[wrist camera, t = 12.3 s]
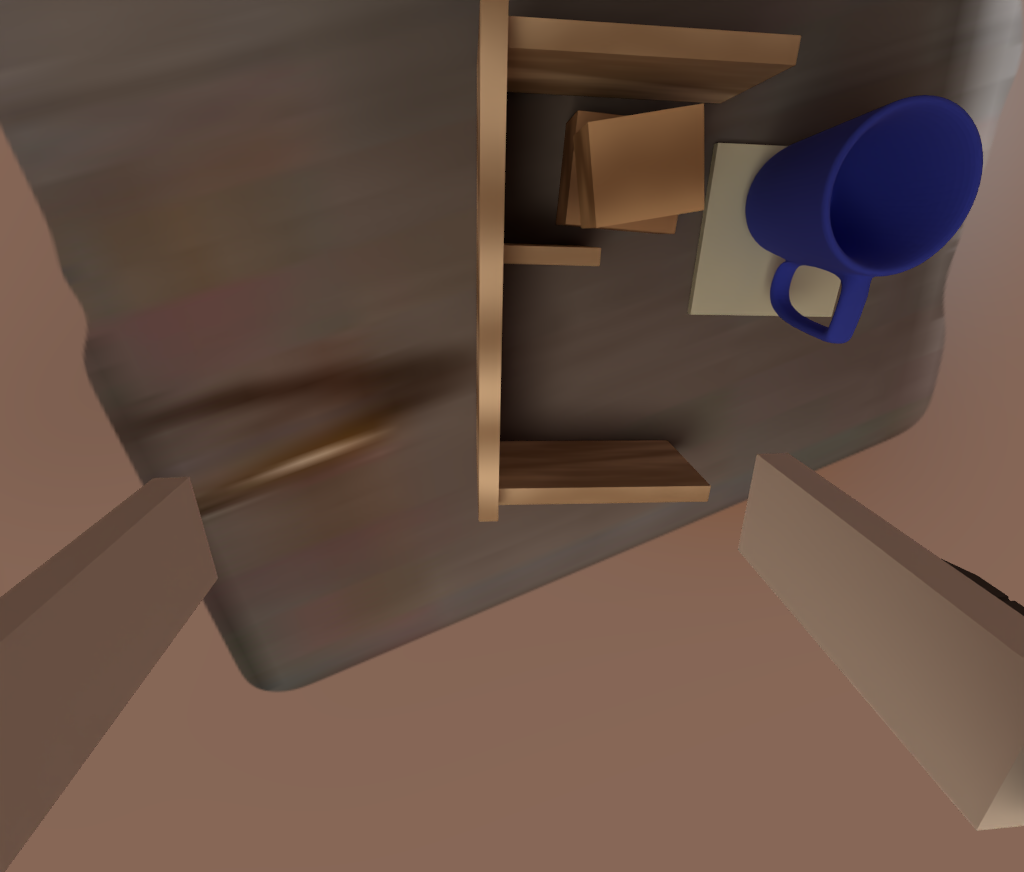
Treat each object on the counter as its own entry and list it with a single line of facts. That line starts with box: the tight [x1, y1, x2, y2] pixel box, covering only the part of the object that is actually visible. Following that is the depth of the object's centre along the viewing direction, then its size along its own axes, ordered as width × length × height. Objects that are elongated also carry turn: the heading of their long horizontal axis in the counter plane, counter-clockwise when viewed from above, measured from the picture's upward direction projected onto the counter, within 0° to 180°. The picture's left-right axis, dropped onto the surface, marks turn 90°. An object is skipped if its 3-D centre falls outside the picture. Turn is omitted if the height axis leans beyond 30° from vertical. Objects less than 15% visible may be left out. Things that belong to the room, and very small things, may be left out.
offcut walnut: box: [556, 110, 678, 234], centre depth 32 cm, size 6×7×4 cm
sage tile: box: [687, 143, 841, 317], centre depth 35 cm, size 11×11×1 cm
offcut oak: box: [573, 103, 704, 228], centre depth 28 cm, size 5×6×4 cm
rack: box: [477, 0, 801, 521], centre depth 31 cm, size 26×16×10 cm, turn 178°
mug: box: [745, 95, 983, 343], centre depth 30 cm, size 8×12×10 cm
